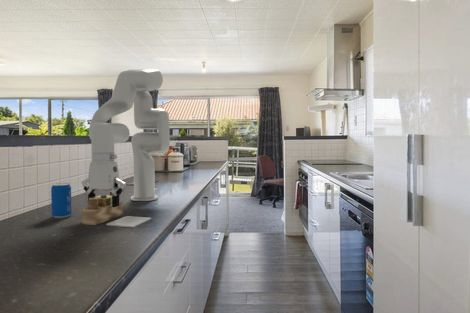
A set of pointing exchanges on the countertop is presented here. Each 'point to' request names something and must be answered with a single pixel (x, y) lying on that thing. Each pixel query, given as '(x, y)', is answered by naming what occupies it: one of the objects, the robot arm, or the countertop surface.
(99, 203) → the lever cap
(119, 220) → the mat
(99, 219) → the plane body
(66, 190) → the beverage can
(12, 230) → the countertop surface
